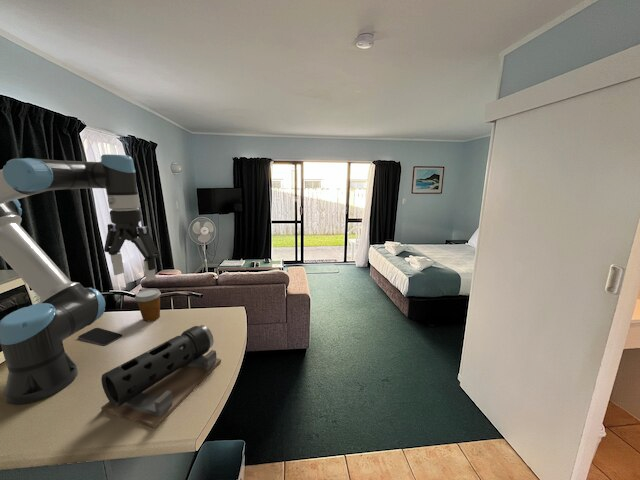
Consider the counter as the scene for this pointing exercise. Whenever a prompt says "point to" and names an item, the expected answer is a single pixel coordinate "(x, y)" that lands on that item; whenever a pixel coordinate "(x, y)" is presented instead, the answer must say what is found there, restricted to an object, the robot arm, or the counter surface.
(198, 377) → the mounting board
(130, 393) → the muzzle brake
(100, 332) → the smartphone
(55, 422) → the counter surface
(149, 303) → the disposable coffee cup
